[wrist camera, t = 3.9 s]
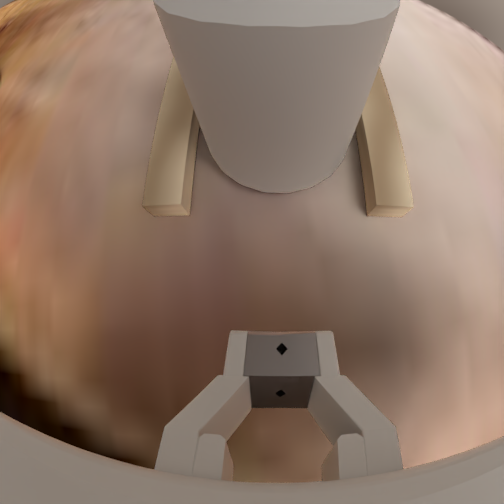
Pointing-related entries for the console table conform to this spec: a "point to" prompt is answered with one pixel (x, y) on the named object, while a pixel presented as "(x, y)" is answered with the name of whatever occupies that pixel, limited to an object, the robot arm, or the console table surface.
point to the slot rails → (185, 144)
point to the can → (278, 81)
